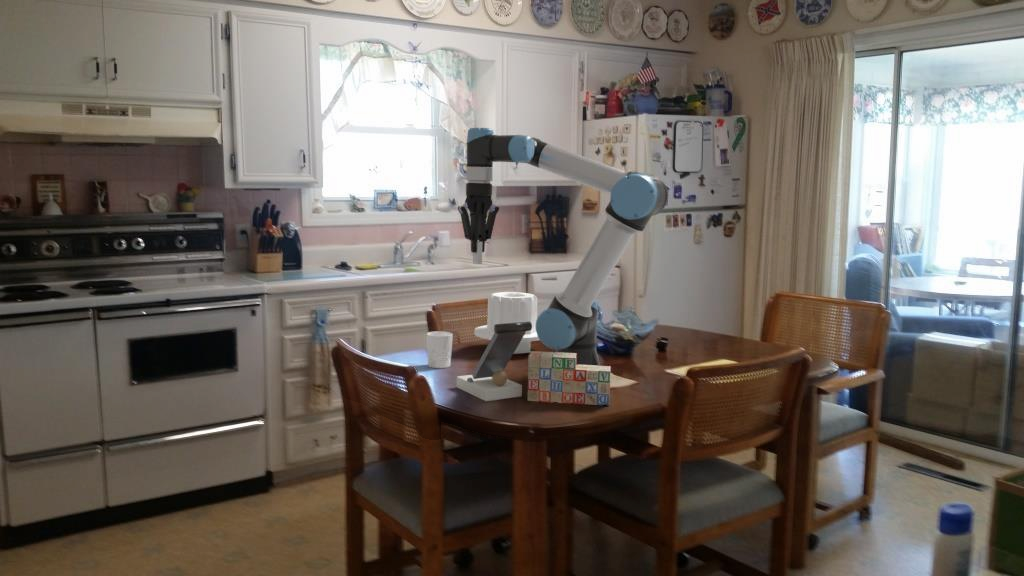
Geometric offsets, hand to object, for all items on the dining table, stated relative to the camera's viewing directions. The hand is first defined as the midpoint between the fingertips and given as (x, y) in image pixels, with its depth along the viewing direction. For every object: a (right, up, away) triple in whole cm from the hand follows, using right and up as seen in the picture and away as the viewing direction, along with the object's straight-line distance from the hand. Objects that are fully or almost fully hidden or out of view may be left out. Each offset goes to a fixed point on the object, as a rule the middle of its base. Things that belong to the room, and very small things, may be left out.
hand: (477, 263), depth 240 cm
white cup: (-12, -31, +11) cm, 35 cm away
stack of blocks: (+25, -37, -24) cm, 51 cm away
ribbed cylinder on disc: (+10, -28, +36) cm, 47 cm away
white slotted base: (+4, -35, -18) cm, 40 cm away
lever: (+3, -31, -17) cm, 35 cm away
